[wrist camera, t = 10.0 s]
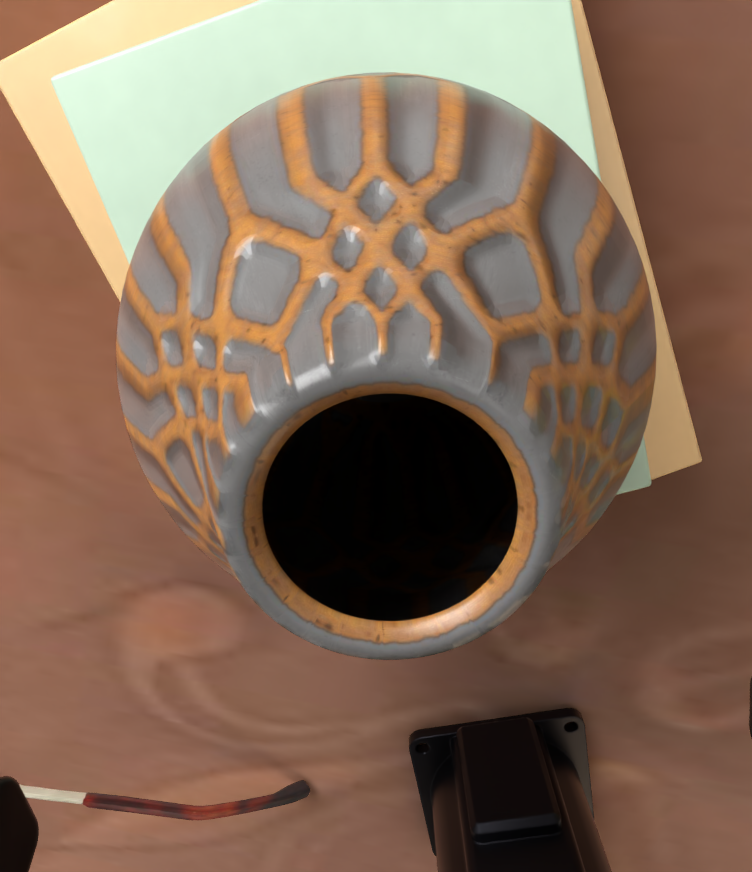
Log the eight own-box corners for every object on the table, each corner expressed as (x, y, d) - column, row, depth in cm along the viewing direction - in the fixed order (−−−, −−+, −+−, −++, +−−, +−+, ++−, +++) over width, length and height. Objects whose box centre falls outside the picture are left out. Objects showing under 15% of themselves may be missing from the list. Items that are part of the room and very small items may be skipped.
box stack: (654, 421, 20) (764, 512, 14) (304, 552, 21) (277, 679, 16) (495, -138, 15) (566, -340, 9) (57, 89, 17) (-109, 35, 11)
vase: (169, 142, 11) (-356, 11, 3) (554, 86, 11) (1042, -216, 3) (245, 486, 14) (55, 906, 6) (563, 449, 14) (846, 839, 5)
